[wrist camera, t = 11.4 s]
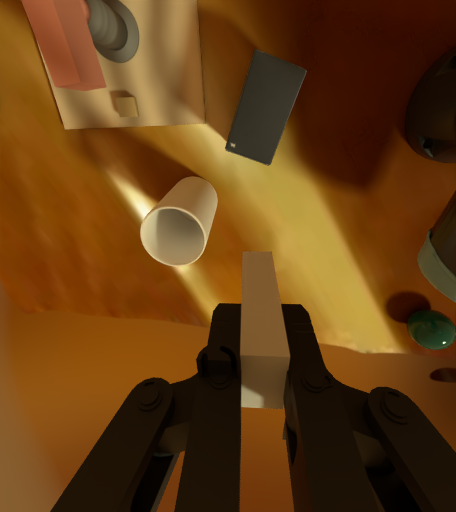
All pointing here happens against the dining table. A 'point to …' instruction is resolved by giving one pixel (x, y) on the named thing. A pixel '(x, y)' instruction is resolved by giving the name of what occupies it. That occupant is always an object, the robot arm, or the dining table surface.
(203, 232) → the cup
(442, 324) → the sphere
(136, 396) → the robot arm
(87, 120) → the post board
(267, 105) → the small box
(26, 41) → the dining table surface
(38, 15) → the pink rectangular block
